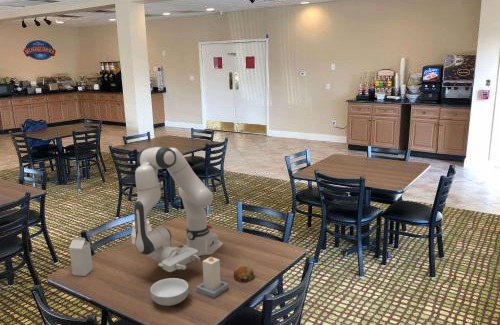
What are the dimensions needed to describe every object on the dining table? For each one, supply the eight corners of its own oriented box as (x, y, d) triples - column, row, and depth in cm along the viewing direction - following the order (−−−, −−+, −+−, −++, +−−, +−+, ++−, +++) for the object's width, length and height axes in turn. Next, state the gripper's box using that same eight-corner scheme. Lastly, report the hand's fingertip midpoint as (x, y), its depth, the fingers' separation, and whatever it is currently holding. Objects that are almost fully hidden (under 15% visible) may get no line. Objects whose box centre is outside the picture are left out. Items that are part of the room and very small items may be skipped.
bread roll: (255, 282, 211) (257, 265, 213) (249, 283, 202) (251, 266, 203) (236, 279, 214) (238, 263, 216) (229, 280, 205) (231, 263, 206)
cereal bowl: (188, 310, 182) (187, 295, 180) (148, 313, 181) (147, 298, 179) (190, 290, 198) (189, 276, 197) (154, 292, 197) (153, 278, 196)
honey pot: (127, 243, 252) (124, 214, 248) (140, 235, 264) (137, 207, 260) (145, 246, 248) (143, 217, 244) (157, 237, 259) (155, 209, 255)
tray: (211, 282, 205) (211, 277, 204) (228, 288, 199) (228, 283, 198) (196, 291, 197) (196, 286, 196) (213, 298, 191) (213, 293, 190)
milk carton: (85, 276, 214) (81, 241, 209) (72, 275, 215) (68, 240, 211) (93, 269, 221) (89, 235, 216) (80, 268, 222) (76, 234, 218)
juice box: (211, 283, 201) (210, 254, 198) (220, 287, 198) (219, 257, 195) (204, 288, 197) (202, 258, 194) (212, 292, 194) (211, 261, 190)
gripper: (155, 258, 202) (176, 266, 194) (186, 243, 218) (206, 250, 210) (156, 270, 203) (177, 278, 195) (186, 255, 219) (206, 261, 211)
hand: (192, 263), depth 202 cm, fingers open, 8 cm apart
